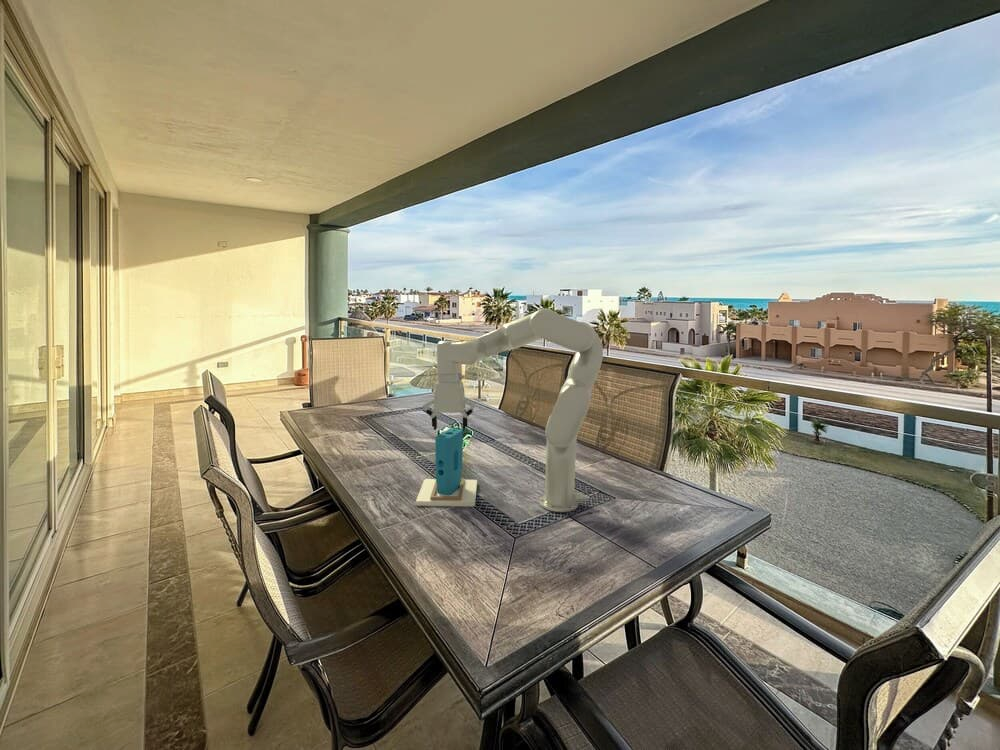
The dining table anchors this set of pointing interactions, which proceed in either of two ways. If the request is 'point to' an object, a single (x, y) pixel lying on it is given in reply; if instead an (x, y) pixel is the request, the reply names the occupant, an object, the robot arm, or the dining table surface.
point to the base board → (458, 498)
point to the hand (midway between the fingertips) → (449, 428)
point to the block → (448, 460)
